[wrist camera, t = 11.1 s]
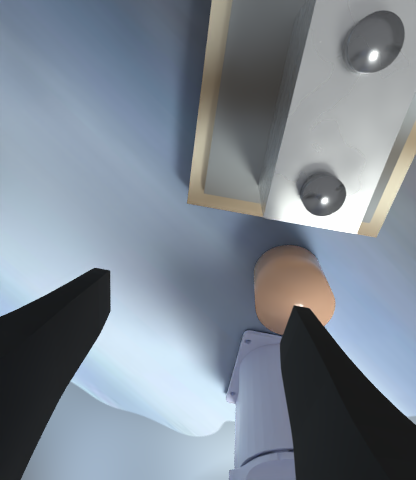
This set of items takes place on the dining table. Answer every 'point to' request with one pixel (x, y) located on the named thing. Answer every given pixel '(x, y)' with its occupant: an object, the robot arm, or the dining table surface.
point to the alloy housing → (338, 110)
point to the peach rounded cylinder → (290, 286)
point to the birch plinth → (261, 111)
